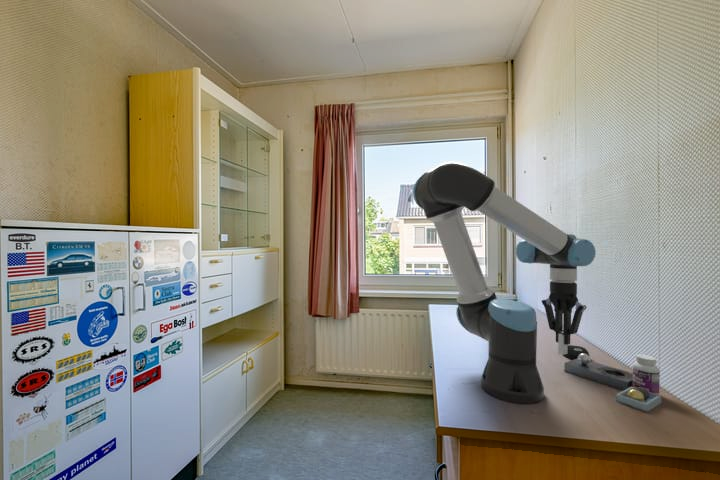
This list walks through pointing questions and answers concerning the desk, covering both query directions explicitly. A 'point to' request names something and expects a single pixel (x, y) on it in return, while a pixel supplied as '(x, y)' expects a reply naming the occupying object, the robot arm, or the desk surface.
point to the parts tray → (644, 406)
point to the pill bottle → (646, 373)
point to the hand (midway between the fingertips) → (562, 353)
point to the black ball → (643, 392)
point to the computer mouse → (575, 352)
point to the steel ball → (584, 358)
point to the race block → (601, 373)
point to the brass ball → (635, 395)
